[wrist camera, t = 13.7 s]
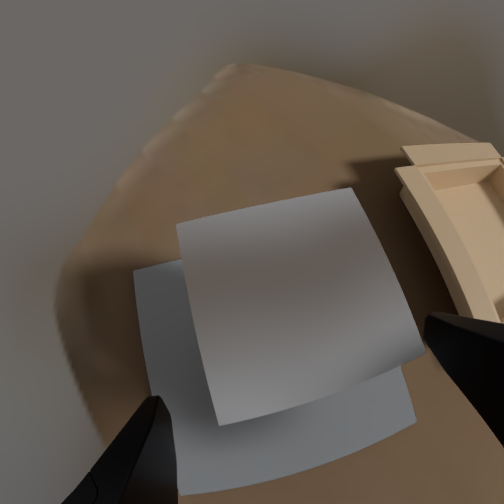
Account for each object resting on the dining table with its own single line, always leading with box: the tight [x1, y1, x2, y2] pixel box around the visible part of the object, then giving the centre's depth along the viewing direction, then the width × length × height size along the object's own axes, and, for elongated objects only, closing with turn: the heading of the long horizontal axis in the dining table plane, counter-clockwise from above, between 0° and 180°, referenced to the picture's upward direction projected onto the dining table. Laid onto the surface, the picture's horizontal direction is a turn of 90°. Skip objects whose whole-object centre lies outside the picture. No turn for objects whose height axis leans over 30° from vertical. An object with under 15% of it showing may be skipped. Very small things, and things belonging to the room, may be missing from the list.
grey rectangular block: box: [176, 187, 426, 426], centre depth 11 cm, size 5×5×10 cm
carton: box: [394, 143, 504, 324], centre depth 18 cm, size 17×17×4 cm
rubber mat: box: [133, 259, 417, 496], centre depth 16 cm, size 14×14×1 cm
